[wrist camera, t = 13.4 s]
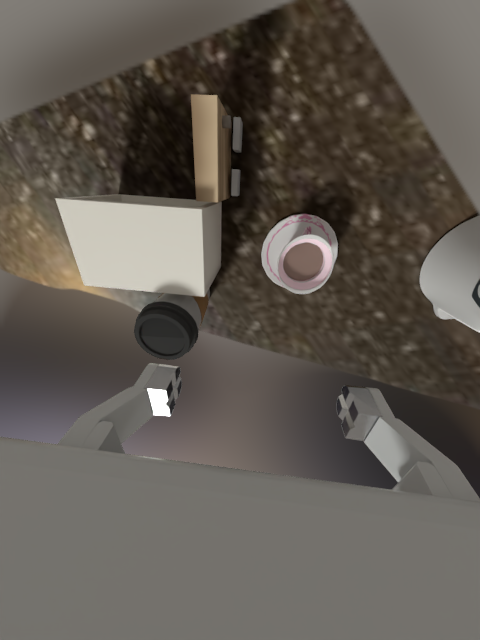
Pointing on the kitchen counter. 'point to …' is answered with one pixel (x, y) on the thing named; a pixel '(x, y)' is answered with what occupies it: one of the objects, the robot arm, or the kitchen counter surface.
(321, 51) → the kitchen counter surface
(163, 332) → the coffee cup
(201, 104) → the door
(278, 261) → the teacup
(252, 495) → the robot arm
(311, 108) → the kitchen counter surface
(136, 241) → the cabinet
